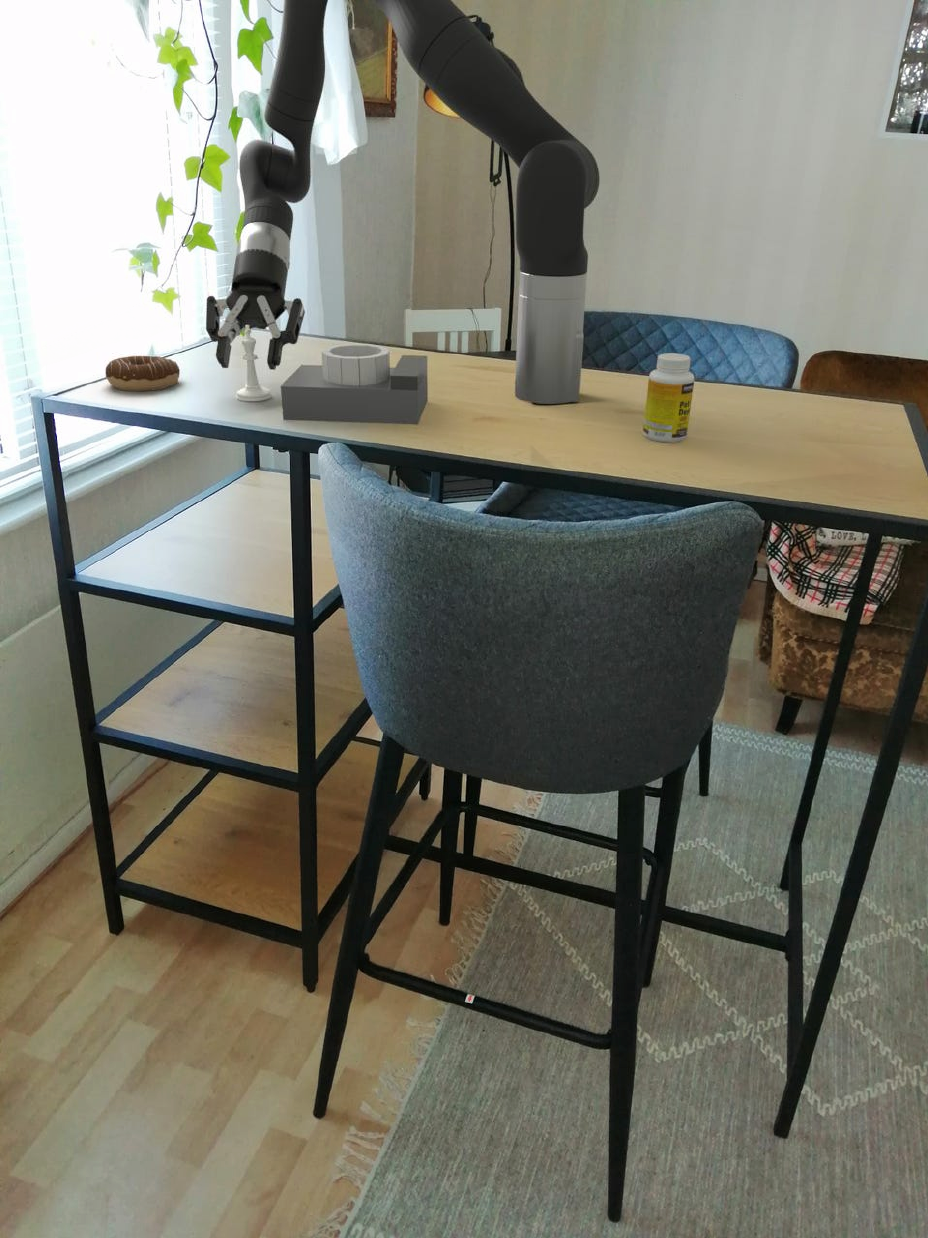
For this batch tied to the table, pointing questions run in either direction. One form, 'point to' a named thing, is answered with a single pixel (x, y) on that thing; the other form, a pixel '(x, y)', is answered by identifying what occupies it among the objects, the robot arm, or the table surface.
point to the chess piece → (251, 373)
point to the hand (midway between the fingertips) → (247, 365)
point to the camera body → (357, 387)
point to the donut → (142, 373)
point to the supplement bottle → (669, 399)
